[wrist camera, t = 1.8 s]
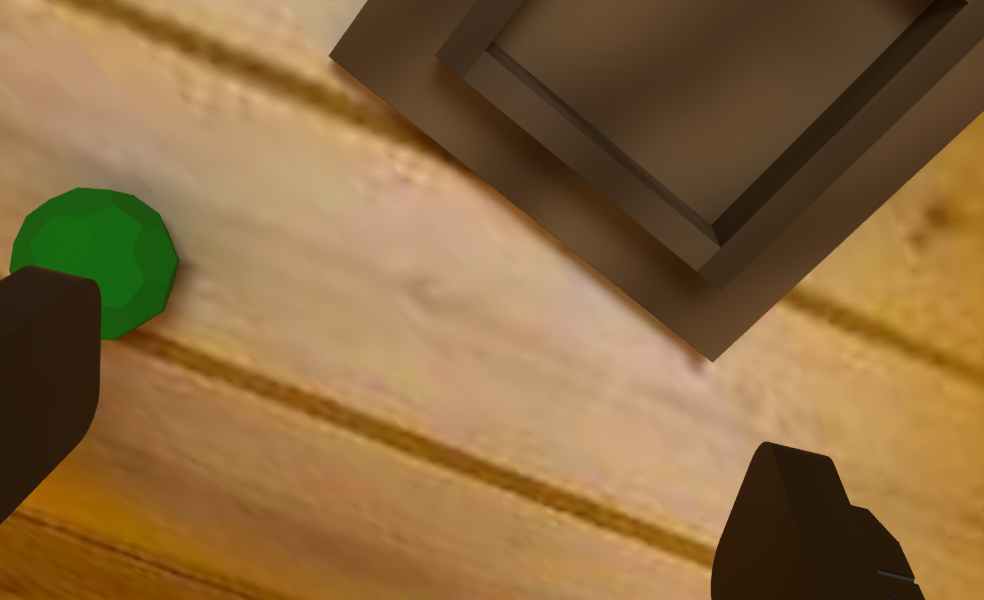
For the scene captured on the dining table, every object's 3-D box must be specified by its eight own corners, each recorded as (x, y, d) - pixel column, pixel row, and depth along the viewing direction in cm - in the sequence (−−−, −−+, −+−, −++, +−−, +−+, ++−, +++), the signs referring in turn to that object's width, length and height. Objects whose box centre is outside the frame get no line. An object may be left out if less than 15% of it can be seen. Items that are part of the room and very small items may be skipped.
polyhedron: (182, 323, 33) (123, 389, 29) (50, 274, 32) (-30, 334, 28) (213, 201, 31) (155, 253, 26) (73, 148, 30) (-9, 191, 26)
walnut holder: (336, 50, 28) (311, 68, 26) (698, -460, 22) (716, -508, 20) (708, 348, 32) (721, 392, 29) (1109, -29, 26) (1174, -18, 23)
